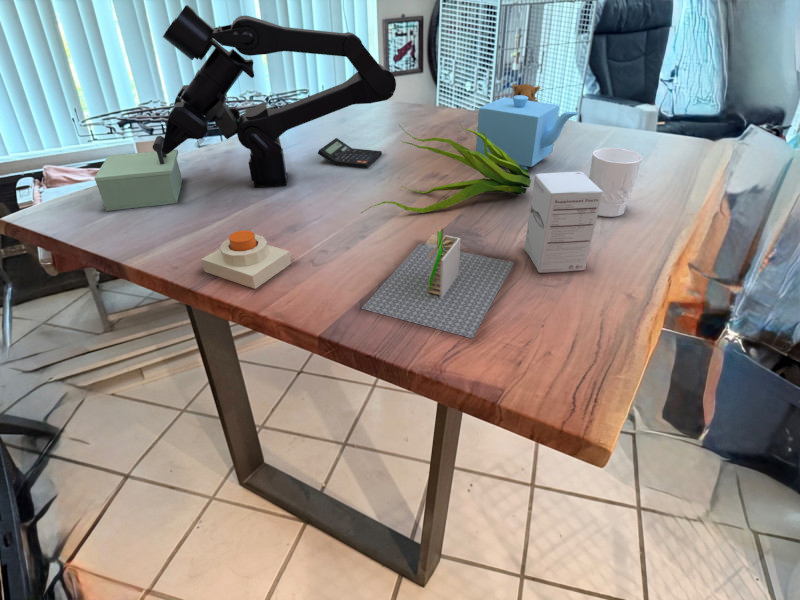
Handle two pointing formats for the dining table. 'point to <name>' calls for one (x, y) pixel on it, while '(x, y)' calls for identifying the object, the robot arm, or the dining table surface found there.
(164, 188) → the green lidded box
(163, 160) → the box lid
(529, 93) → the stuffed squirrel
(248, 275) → the control block
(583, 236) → the white packaging box
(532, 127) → the teapot
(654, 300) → the dining table surface
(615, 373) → the dining table surface
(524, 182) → the decorative plant
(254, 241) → the button
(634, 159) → the white cup
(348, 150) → the calculator
